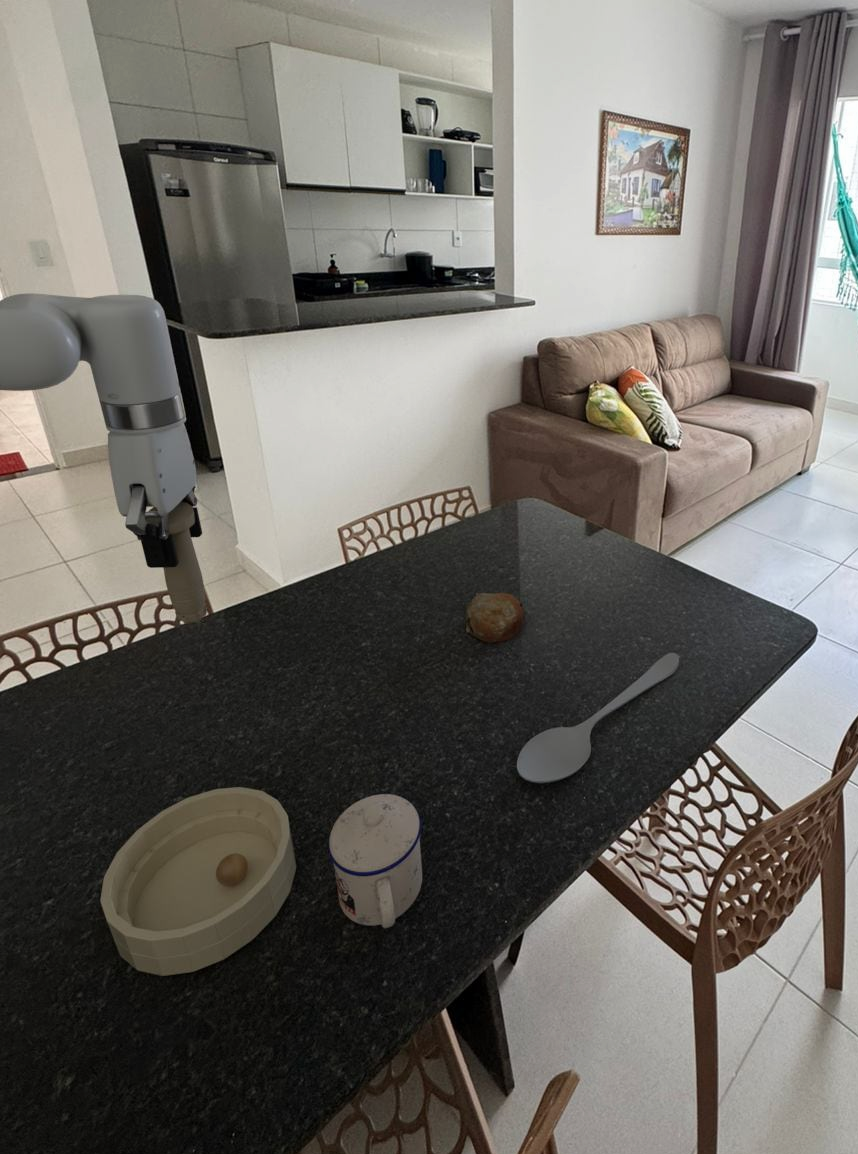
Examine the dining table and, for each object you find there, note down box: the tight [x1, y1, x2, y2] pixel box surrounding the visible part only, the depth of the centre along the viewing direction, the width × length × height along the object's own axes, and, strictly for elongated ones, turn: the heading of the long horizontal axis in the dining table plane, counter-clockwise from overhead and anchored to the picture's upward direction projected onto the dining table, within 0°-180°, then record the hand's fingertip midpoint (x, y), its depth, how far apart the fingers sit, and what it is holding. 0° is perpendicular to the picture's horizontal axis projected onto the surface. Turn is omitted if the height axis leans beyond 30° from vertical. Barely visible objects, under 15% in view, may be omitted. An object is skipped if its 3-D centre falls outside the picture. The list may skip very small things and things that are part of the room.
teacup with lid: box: [327, 793, 423, 929], centre depth 68 cm, size 12×9×12 cm
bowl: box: [99, 786, 297, 977], centre depth 69 cm, size 17×17×6 cm
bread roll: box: [465, 591, 526, 644], centre depth 114 cm, size 10×10×8 cm
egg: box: [216, 854, 248, 886], centre depth 71 cm, size 3×3×3 cm
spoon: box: [516, 652, 680, 784], centre depth 96 cm, size 35×8×3 cm, turn 140°
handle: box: [147, 502, 208, 625], centre depth 82 cm, size 5×6×15 cm
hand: (176, 549), depth 81 cm, fingers closed on handle, 6 cm apart
